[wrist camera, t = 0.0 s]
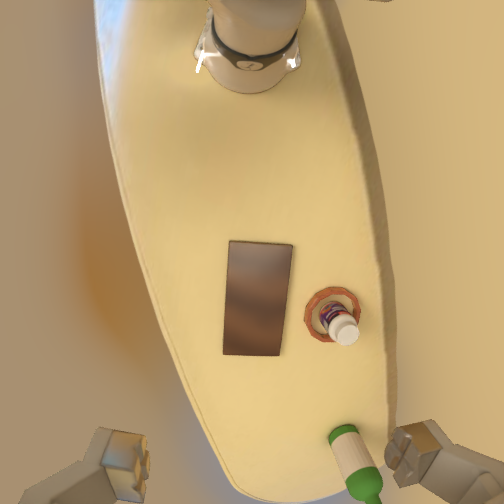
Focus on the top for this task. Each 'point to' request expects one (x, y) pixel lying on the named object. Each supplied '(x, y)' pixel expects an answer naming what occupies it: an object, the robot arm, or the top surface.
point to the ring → (321, 296)
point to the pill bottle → (339, 323)
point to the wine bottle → (356, 464)
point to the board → (256, 298)
